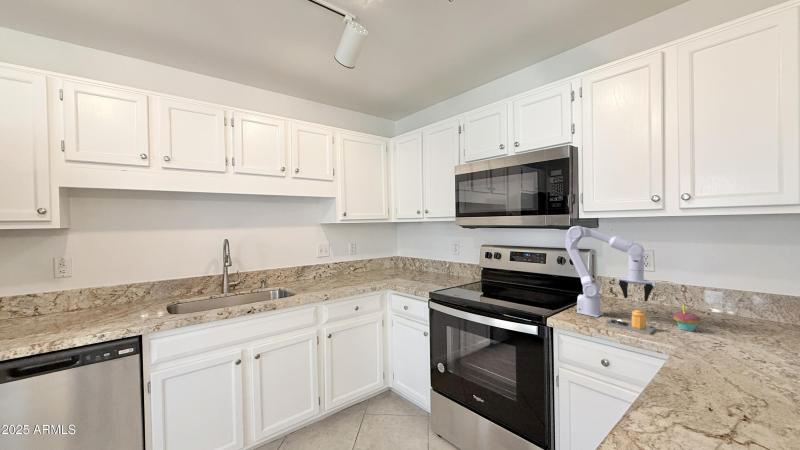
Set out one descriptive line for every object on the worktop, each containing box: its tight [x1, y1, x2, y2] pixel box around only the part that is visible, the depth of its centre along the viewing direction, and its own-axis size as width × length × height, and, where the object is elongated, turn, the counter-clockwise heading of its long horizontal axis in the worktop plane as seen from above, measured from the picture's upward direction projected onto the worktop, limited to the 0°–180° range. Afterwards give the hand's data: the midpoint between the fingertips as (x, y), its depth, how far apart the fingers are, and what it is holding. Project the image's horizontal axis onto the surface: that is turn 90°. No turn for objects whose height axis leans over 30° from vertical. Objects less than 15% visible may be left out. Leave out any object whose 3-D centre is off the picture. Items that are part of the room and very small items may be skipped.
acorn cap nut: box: [631, 309, 647, 328], centre depth 136 cm, size 5×5×7 cm
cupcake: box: [672, 302, 701, 332], centre depth 134 cm, size 9×8×12 cm
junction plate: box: [605, 317, 657, 335], centre depth 138 cm, size 16×9×4 cm, turn 39°
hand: (635, 299), depth 145 cm, fingers open, 7 cm apart
